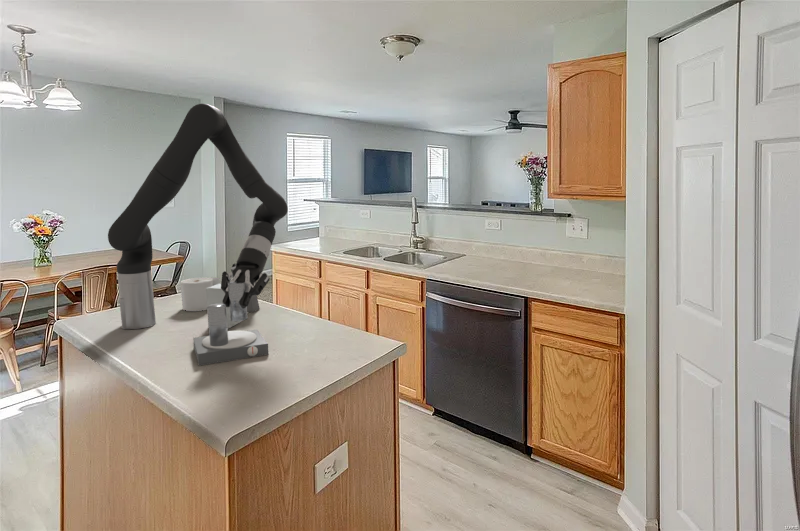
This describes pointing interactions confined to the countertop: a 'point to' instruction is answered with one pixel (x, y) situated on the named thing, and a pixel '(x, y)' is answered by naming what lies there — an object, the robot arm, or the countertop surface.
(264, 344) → the scale
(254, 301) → the coffeepot
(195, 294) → the toilet tissue
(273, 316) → the countertop surface
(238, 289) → the spacer
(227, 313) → the supplement box
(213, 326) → the cylinder
